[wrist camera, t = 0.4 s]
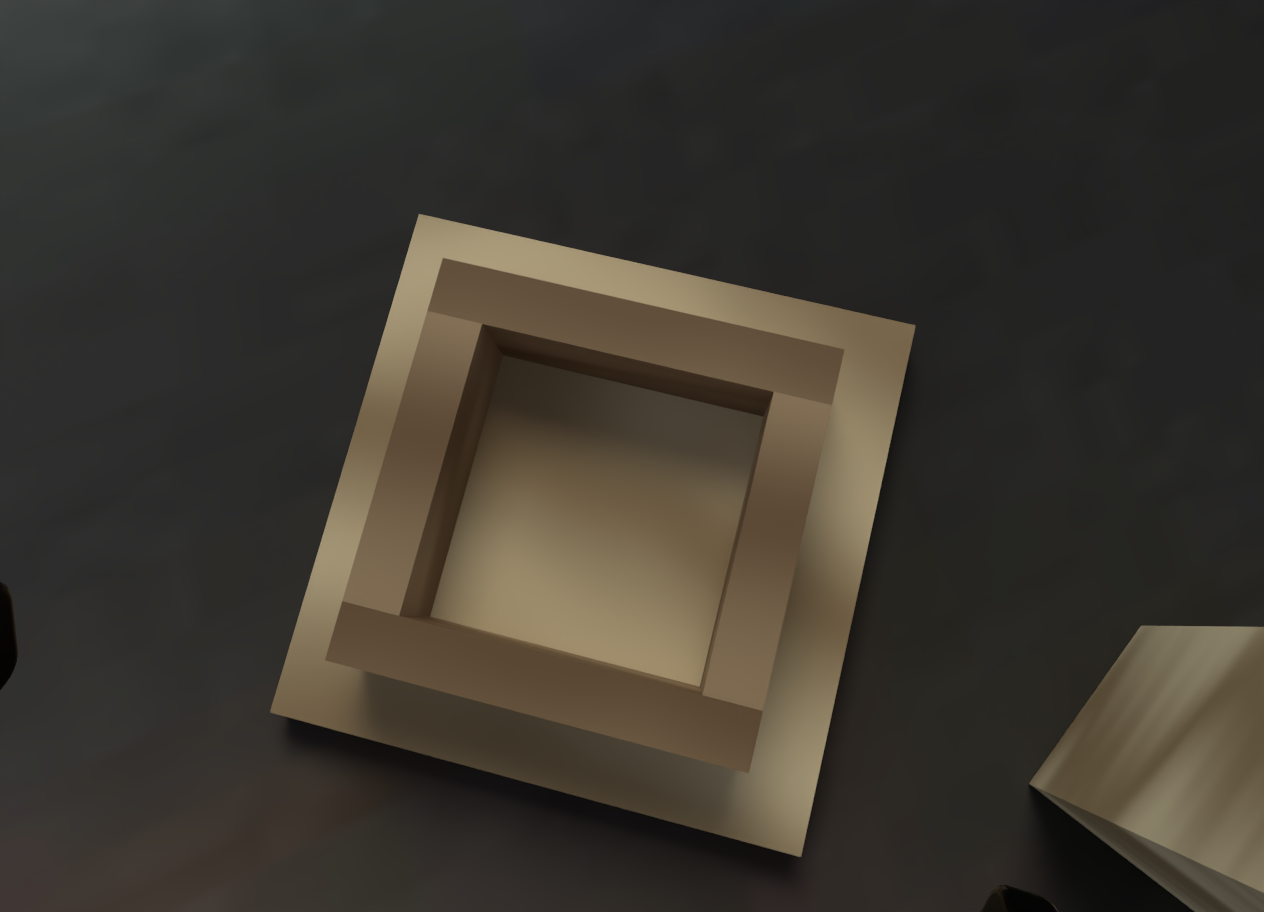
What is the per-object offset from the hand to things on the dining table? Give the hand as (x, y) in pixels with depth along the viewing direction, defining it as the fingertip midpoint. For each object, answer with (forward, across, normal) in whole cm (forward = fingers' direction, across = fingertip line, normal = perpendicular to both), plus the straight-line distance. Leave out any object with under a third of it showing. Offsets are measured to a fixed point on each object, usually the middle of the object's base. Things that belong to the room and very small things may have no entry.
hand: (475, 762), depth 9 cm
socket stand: (+14, +1, +6) cm, 15 cm away
